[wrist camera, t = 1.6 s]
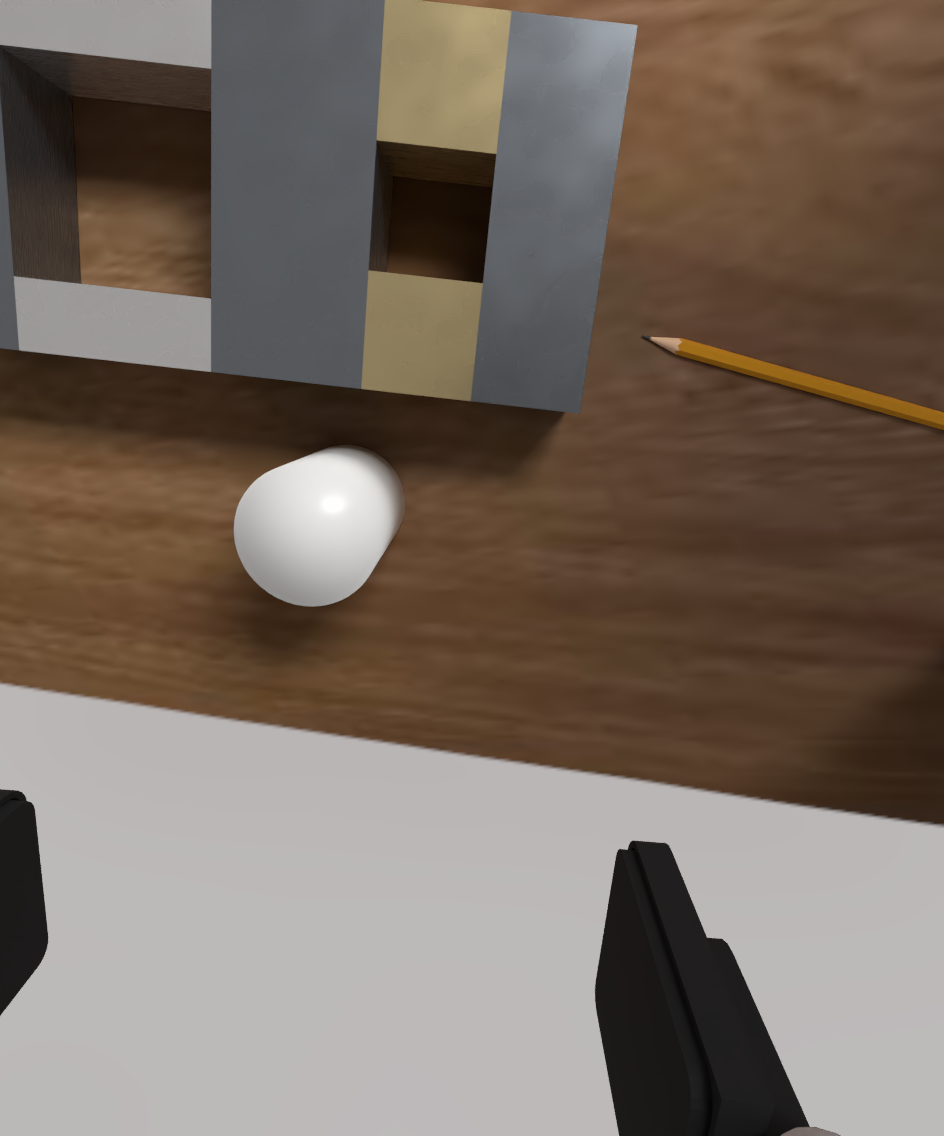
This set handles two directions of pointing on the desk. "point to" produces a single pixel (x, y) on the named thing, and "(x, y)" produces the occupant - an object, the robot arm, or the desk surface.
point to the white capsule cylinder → (319, 524)
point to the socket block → (326, 187)
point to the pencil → (801, 381)
